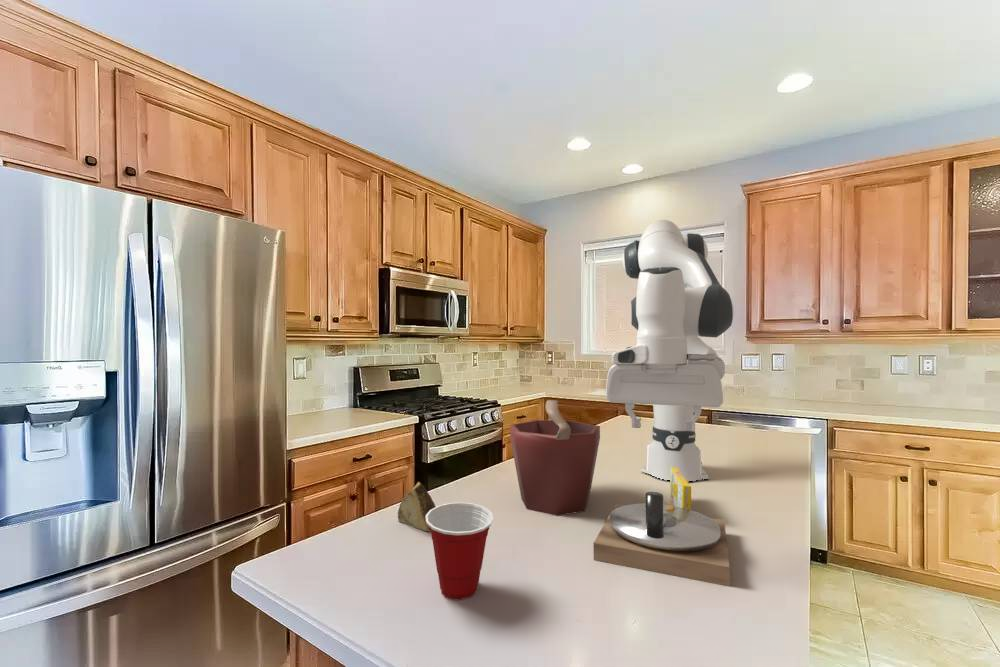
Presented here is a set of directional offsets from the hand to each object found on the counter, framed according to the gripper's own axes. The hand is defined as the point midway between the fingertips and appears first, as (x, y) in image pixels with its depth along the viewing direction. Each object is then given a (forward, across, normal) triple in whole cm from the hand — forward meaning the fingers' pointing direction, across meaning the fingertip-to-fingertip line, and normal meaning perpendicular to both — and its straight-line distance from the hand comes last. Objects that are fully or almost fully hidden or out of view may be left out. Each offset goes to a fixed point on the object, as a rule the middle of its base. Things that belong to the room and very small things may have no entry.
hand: (662, 429), depth 84 cm
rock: (+23, +50, +6) cm, 55 cm away
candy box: (+24, -1, -26) cm, 36 cm away
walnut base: (+23, +1, -4) cm, 24 cm away
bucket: (+24, +28, -19) cm, 41 cm away
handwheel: (+20, +1, -4) cm, 21 cm away
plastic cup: (+23, +29, +26) cm, 45 cm away
